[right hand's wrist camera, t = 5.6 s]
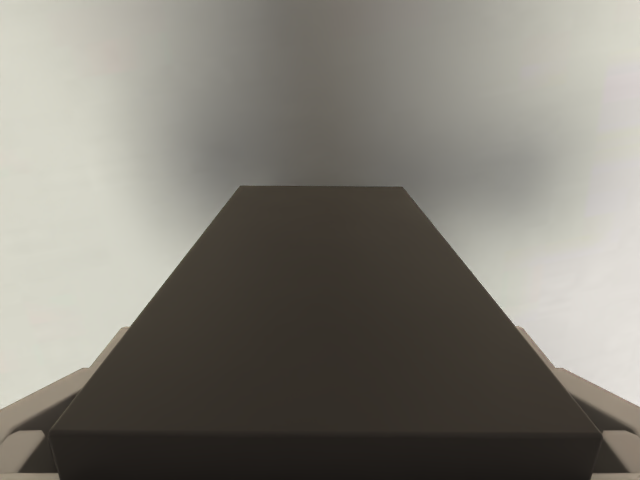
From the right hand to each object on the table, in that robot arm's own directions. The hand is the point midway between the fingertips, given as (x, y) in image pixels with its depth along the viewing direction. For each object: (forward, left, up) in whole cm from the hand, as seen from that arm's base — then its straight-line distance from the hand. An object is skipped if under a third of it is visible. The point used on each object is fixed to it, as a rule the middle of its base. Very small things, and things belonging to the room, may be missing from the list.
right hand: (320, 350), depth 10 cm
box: (+9, 0, -7) cm, 12 cm away
